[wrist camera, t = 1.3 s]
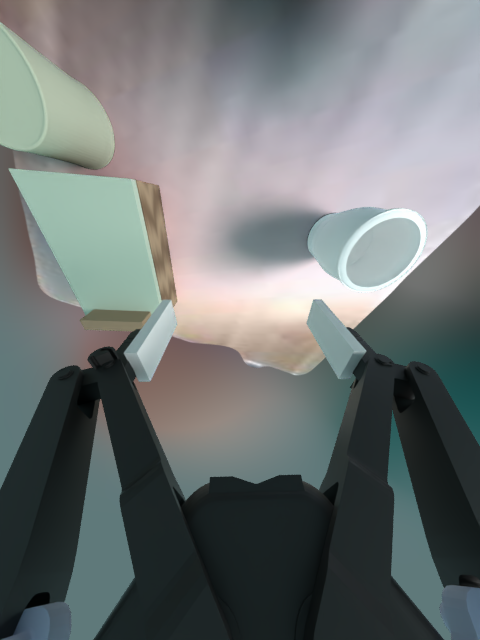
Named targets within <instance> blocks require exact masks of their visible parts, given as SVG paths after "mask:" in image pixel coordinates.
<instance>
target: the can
mask: <svg viewBox="0 0 480 640" xmlns="http://www.w3.org/2000/svg"><path fill="white" fill-rule="evenodd" d="M0 145H2V146H4V147H7V148H10V149H13V150H17V151H25V152H29V153H34V154H38V155H42V156H47V157H51V158H55V159H59V160H63V161H67V162H70V163H74V164H78V165H80V166H83V167H85V168H88V169H101V168H103V167H105V166H107V165H108V164H109V162H110V161H111V159H112V157H113V154H114V148H115V141H114V134H113V129H112V126H111V123H110V121H109V118H108V116H107V114H106V112H105V110H104V108H103V107H102V105H101V104H100V102H99V101H98V99H97V98H96V97H95V96H94V95H93V93H92V92H91V91H90V90H89V89H87V88H86V87H85V86H84V85H83V84H81V83H80V82H78V81H77V80H75V79H73V78H71V77H70V76H69V75H67V74H66V73H65V72H63V71H62V70H61V69H60V68H58V67H57V66H56V65H54V64H53V63H52V62H50V61H49V60H48V59H47V58H45V57H44V56H43V55H42V54H40V53H39V52H38V51H36V50H35V49H34V48H33V47H31V46H30V45H29V44H28V43H26V42H25V41H24V40H22V39H21V38H20V37H19V36H17V35H16V34H15V33H14V32H12V31H11V30H10V29H9V28H7V27H6V26H5V25H4V24H2V23H1V22H0Z"/></svg>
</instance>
